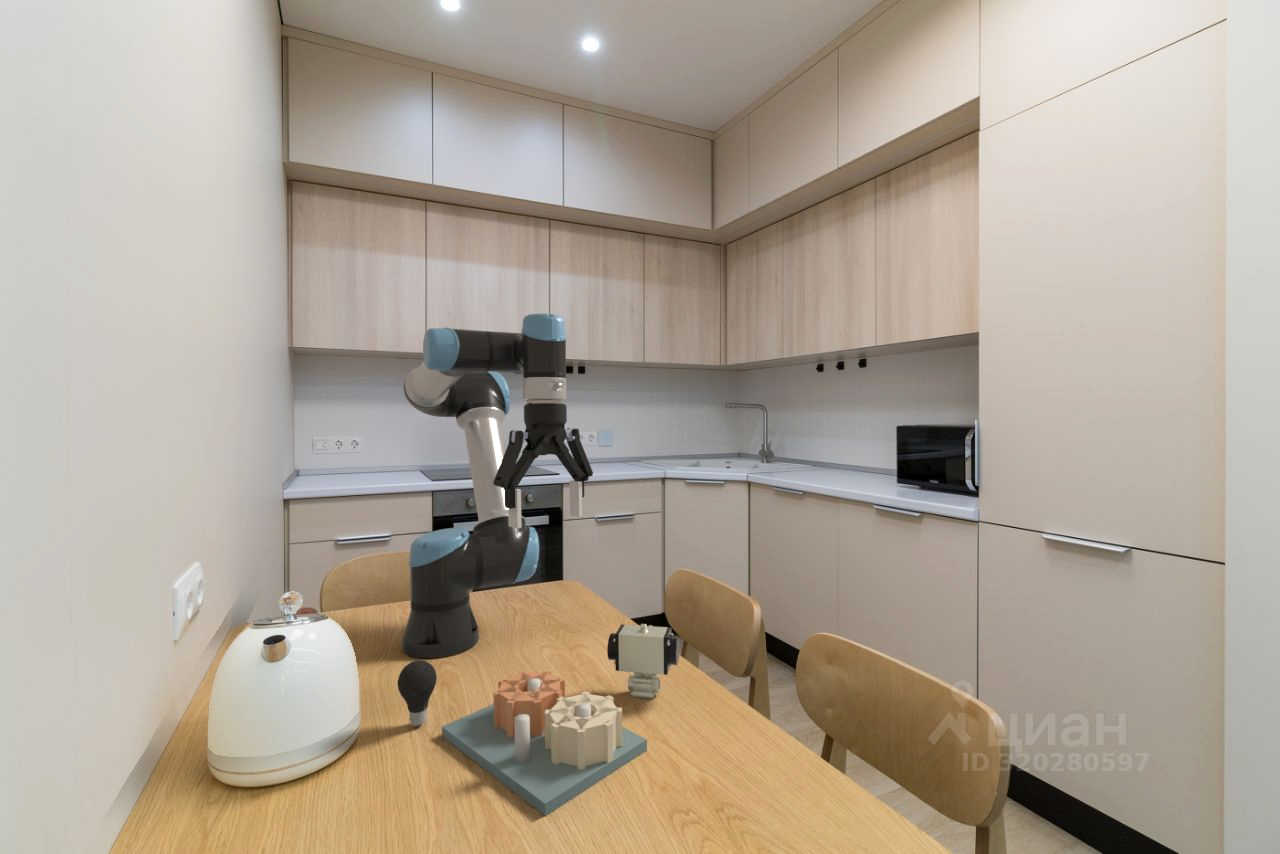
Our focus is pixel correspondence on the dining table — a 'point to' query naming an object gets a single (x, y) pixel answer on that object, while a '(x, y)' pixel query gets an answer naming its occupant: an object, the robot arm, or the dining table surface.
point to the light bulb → (417, 689)
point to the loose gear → (526, 700)
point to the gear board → (539, 767)
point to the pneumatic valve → (643, 656)
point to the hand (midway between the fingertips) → (547, 521)
